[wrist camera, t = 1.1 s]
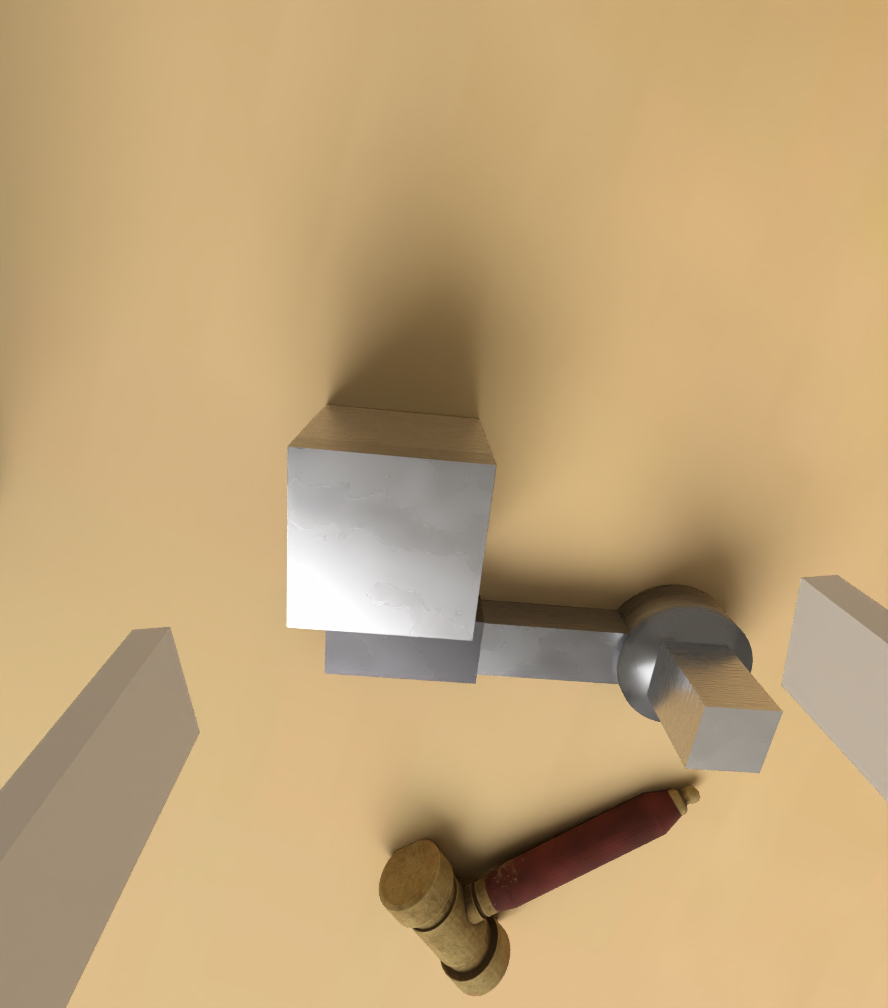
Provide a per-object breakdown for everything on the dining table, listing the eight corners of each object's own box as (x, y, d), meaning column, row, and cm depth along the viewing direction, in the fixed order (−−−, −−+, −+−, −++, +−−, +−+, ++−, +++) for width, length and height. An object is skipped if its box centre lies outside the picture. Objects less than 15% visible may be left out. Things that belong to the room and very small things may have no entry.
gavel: (687, 766, 33) (745, 871, 36) (653, 713, 37) (707, 811, 40) (376, 922, 35) (457, 1009, 38) (378, 854, 39) (450, 937, 42)
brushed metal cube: (322, 544, 30) (286, 627, 23) (326, 404, 28) (287, 446, 20) (462, 555, 31) (472, 640, 23) (478, 418, 28) (496, 465, 21)
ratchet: (332, 665, 33) (303, 775, 26) (336, 557, 31) (305, 643, 23) (707, 691, 34) (784, 803, 27) (739, 589, 32) (834, 681, 24)
